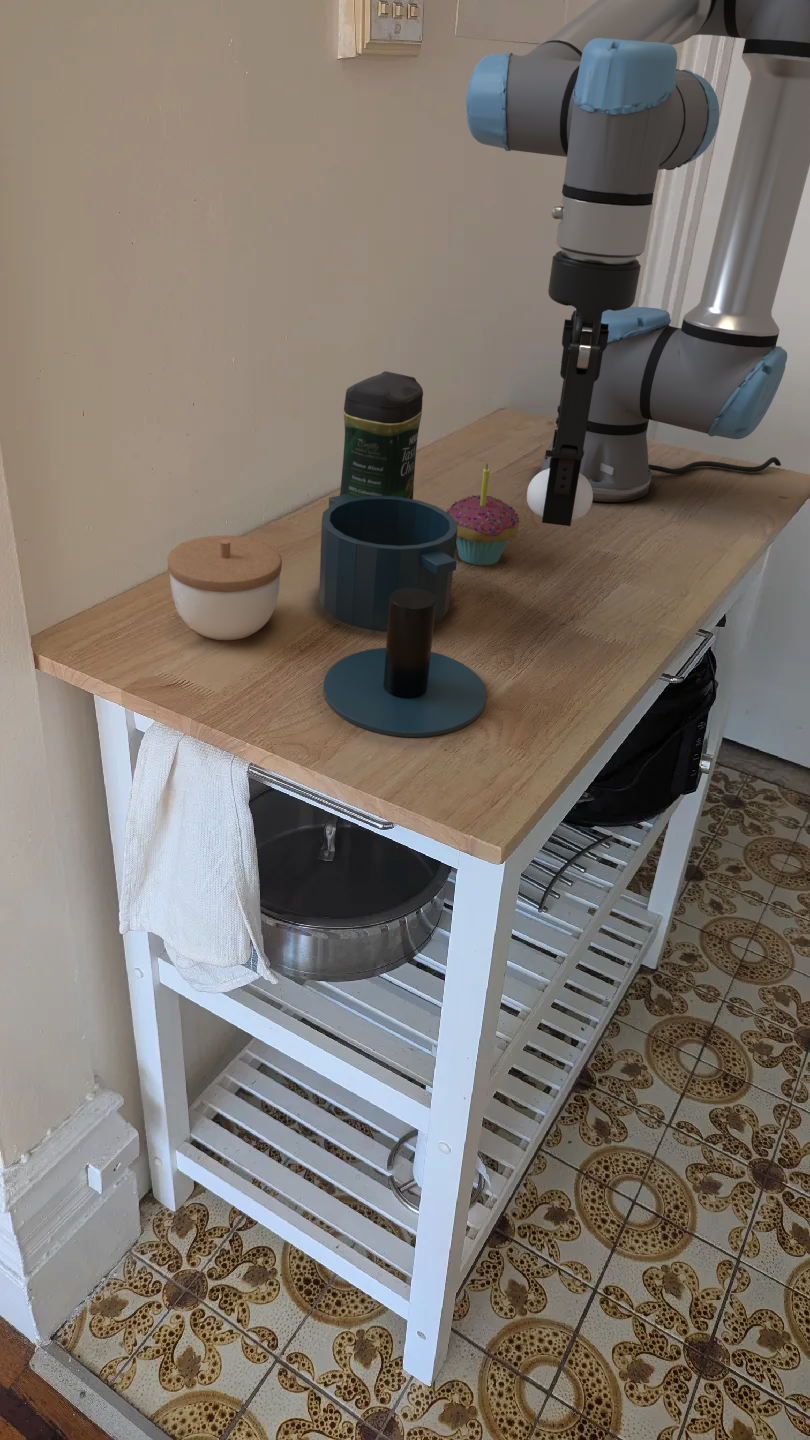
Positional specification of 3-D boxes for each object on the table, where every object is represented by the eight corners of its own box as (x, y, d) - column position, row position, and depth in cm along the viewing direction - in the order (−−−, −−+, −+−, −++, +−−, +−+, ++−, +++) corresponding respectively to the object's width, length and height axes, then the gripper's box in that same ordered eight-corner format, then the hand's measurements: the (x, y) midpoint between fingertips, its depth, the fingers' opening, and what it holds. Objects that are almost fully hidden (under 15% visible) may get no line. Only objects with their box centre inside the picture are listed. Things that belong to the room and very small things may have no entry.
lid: (420, 643, 106) (429, 549, 100) (518, 714, 96) (534, 614, 90) (292, 681, 98) (294, 581, 92) (385, 761, 88) (393, 655, 83)
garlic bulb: (593, 505, 105) (607, 426, 101) (585, 529, 100) (600, 446, 96) (530, 495, 106) (541, 416, 102) (519, 518, 101) (531, 436, 97)
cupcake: (509, 577, 120) (523, 475, 114) (435, 566, 121) (445, 464, 115) (517, 548, 127) (531, 450, 121) (448, 537, 128) (458, 440, 122)
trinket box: (237, 667, 99) (236, 576, 94) (147, 634, 103) (142, 544, 98) (301, 624, 107) (304, 537, 102) (216, 595, 111) (214, 510, 106)
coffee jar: (388, 555, 123) (400, 394, 113) (327, 539, 125) (333, 380, 115) (420, 527, 130) (434, 374, 120) (362, 513, 133) (371, 362, 123)
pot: (384, 559, 122) (390, 479, 117) (490, 628, 109) (502, 543, 104) (282, 582, 115) (283, 499, 109) (383, 660, 102) (389, 570, 97)
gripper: (557, 232, 99) (524, 470, 111) (549, 270, 83) (512, 543, 95) (638, 240, 98) (596, 479, 111) (646, 280, 82) (595, 554, 95)
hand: (557, 508), depth 103 cm, fingers closed on garlic bulb, 6 cm apart
